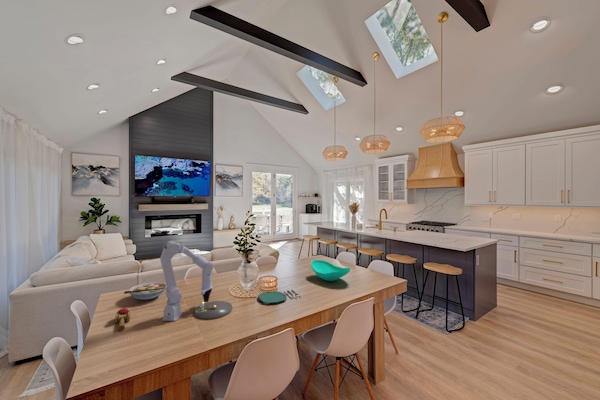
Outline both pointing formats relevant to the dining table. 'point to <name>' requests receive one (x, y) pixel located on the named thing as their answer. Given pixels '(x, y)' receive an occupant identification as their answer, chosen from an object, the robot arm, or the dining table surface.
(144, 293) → the ramen bowl
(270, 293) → the cutlery set
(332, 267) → the table top decor
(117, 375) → the dining table surface
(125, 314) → the kendama
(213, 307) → the brass vanity light
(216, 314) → the tuner dial
